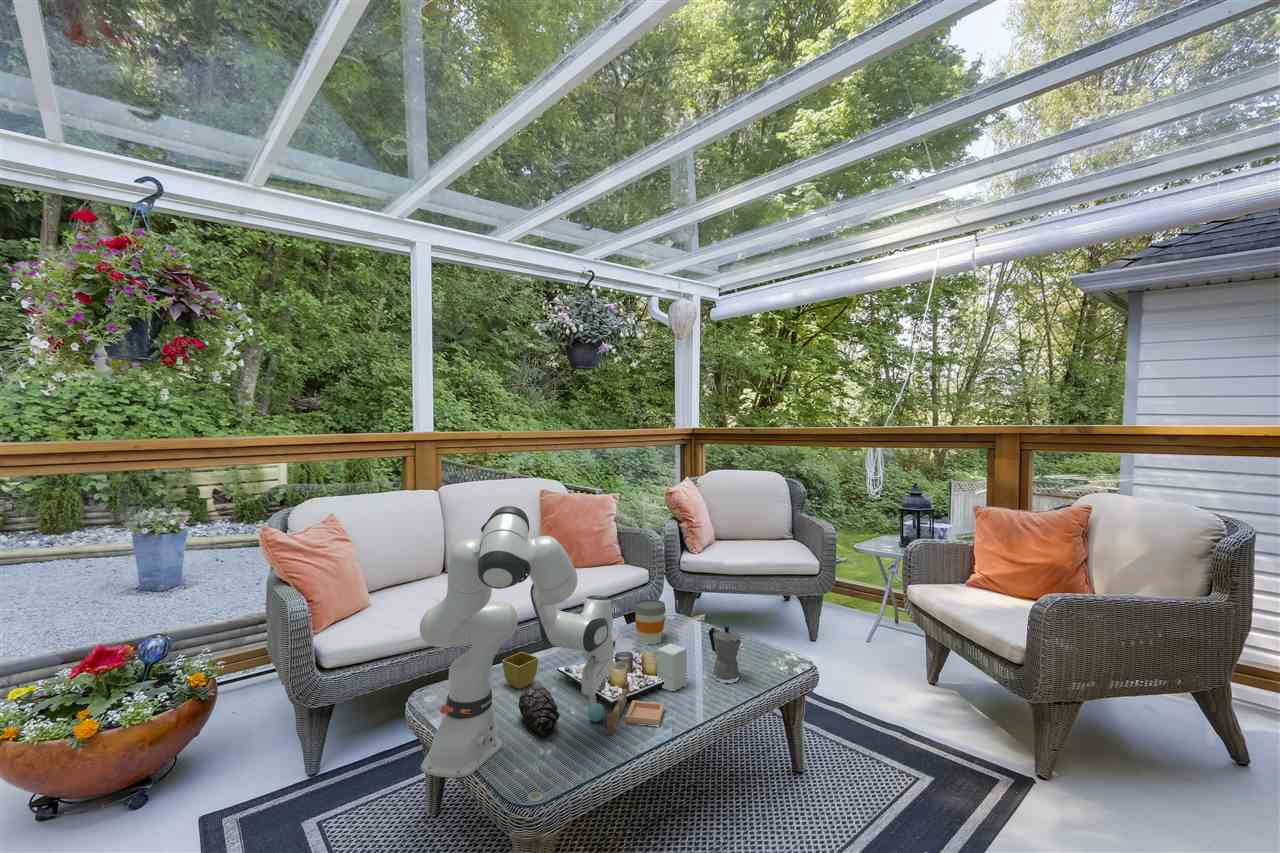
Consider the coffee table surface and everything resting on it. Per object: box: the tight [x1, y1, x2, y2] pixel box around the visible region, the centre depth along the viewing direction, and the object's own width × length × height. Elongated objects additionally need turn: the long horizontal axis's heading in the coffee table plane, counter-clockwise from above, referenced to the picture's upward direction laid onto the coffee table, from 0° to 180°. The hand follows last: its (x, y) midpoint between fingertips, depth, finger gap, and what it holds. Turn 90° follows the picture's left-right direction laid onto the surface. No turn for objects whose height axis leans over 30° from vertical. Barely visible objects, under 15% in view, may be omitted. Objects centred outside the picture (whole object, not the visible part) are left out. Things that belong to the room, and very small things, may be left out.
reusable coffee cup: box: [634, 598, 667, 644], centre depth 238 cm, size 13×13×15 cm
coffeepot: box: [708, 626, 742, 680], centre depth 206 cm, size 15×9×18 cm, turn 36°
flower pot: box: [501, 651, 539, 690], centre depth 199 cm, size 9×9×9 cm
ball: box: [587, 702, 605, 723], centre depth 176 cm, size 5×5×5 cm
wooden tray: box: [625, 699, 665, 725], centre depth 179 cm, size 10×10×2 cm
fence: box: [606, 681, 630, 736], centre depth 179 cm, size 22×2×6 cm, turn 169°
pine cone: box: [518, 685, 560, 742], centre depth 173 cm, size 10×18×10 cm, turn 35°
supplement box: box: [656, 643, 687, 692], centre depth 199 cm, size 7×7×13 cm
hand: (597, 696), depth 175 cm, fingers open, 8 cm apart
